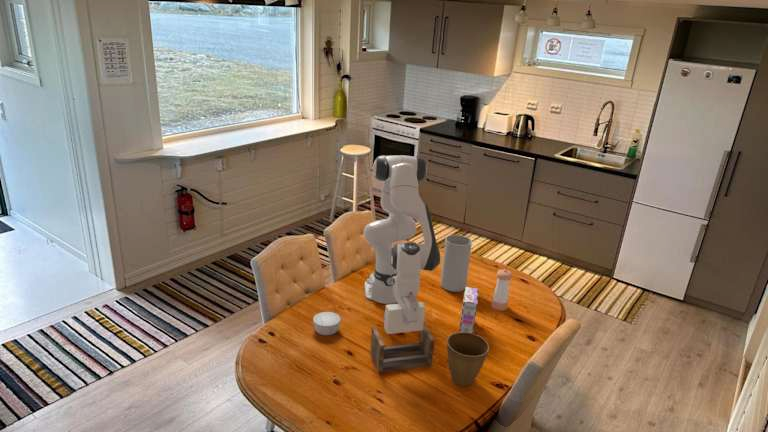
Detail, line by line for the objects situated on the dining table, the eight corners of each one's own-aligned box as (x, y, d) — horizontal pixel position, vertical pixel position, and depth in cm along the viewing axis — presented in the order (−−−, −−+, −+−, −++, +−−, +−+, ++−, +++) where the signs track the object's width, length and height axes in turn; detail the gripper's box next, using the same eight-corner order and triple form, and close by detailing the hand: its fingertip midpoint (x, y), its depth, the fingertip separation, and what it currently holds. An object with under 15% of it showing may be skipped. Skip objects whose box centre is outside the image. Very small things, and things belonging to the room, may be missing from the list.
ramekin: (307, 328, 222) (307, 317, 220) (327, 319, 229) (328, 308, 228) (325, 340, 215) (325, 329, 213) (345, 330, 222) (346, 319, 221)
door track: (370, 354, 208) (371, 327, 204) (420, 347, 214) (423, 322, 210) (378, 373, 197) (380, 345, 193) (431, 366, 203) (434, 339, 199)
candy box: (472, 338, 223) (477, 303, 217) (458, 335, 224) (463, 301, 218) (474, 320, 236) (478, 287, 230) (460, 318, 237) (465, 285, 231)
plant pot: (455, 397, 187) (460, 359, 182) (435, 372, 200) (439, 335, 194) (491, 388, 193) (497, 351, 188) (469, 364, 206) (474, 328, 200)
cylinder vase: (448, 277, 272) (453, 232, 263) (470, 285, 266) (476, 239, 257) (435, 286, 263) (440, 240, 254) (458, 295, 256) (464, 247, 247)
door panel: (384, 328, 200) (385, 304, 197) (419, 324, 204) (421, 301, 201) (387, 334, 197) (388, 310, 193) (422, 330, 201) (425, 306, 197)
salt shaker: (506, 303, 252) (512, 266, 245) (508, 311, 245) (514, 274, 238) (490, 301, 252) (496, 265, 245) (492, 309, 246) (497, 272, 239)
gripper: (425, 300, 186) (421, 334, 191) (406, 273, 204) (403, 305, 209) (408, 301, 184) (405, 336, 189) (390, 274, 202) (388, 306, 207)
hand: (404, 319), depth 199 cm, fingers closed on door panel, 4 cm apart
